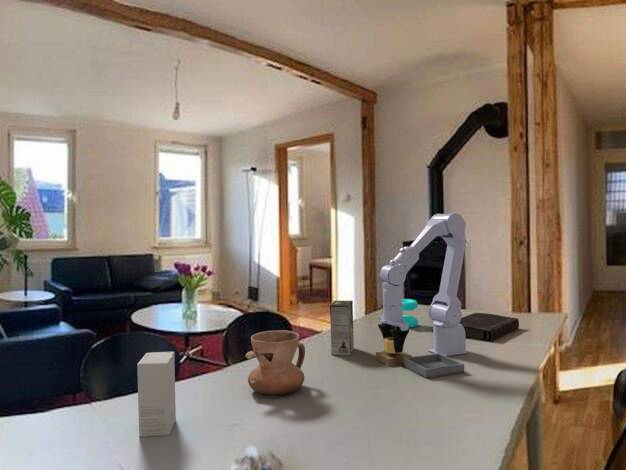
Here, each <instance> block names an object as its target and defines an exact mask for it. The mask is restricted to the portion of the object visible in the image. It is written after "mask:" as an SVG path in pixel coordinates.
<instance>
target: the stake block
mask: <svg viewBox="0 0 626 470" xmlns="http://www.w3.org/2000/svg"><path fill="white" fill-rule="evenodd" d="M390 341H393V339H390ZM407 357H413V355H412V354H409V353H407V352H404V351H403V352H402V353H387V352H385V351H384V350H383V351H376V352H375V359H376V360H377V361H379V362H380V363H382V364H384V365H386V366H388V367H391V366H399V365H403V358H407Z"/></svg>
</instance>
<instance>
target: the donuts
mask: <svg viewBox="0 0 626 470" xmlns="http://www.w3.org/2000/svg"><path fill="white" fill-rule="evenodd" d="M418 306H419V304H418V301H417V300H415V299H412V298H411V299H410V298H402V312H408V311H409V312H410V311H414V310H416V309H417V308H418ZM403 320H404V321H405V322H406V323H408V329H410V328H415V327H417V326H418V325H419V319H417V318H416V317H415V316H412V315H404V314H403Z"/></svg>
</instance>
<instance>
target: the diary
mask: <svg viewBox="0 0 626 470" xmlns="http://www.w3.org/2000/svg"><path fill="white" fill-rule="evenodd" d="M459 324H461V325H462V326H463V327H464V329H465V338H466V340H467V339H468V340H469V339H472V340H473V339H474V340H480V341H484V342H486V341H489V343H492V342H494V341H496V340H498V339H499V338H503V337H504V336H506V335H508V334H511V333H512V332H514V331H517V330H519V328H520V322H519V317H510V316H504V315H499V314H493V313H488V312H487V313H486V312H474V313H471V314H468V315H466V316H462V318H461V321H460V322H459Z"/></svg>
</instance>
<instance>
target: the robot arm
mask: <svg viewBox="0 0 626 470" xmlns="http://www.w3.org/2000/svg"><path fill="white" fill-rule="evenodd" d="M466 226H467V222H466V221H465V219H464V218H463V217H462V215H461V214H460V213H457V212H454V213H435V214H433V216H431V218H430V219H429V220H428V221H427V223H426V226H425V227H424V228H423V229H422V231H421V232H420V233H419V235H418V236H417V237H416V238H415V239H414V240H413V242H412V243H411V245H409V246H404V247H401V248H400V249H399V250H398V254H397V255H396V256H395V257H394V258H393V259H391V260H390V261H389V264H387V265H386V264H385V265H384V266H382V267H381V269H380V271H379V273H378V278H379V281H381V285H382V286H381V287H382V305H383V307H382V311H383V313H382V314H380V315H378V317H379V318H378V320H379V322H380V323H379V324H377V328H378V329H379V331H380V333H381V336H382V339H383V340H384V339H385V338H388V337H392V338H393V342H394V350H395V352H396V353H397V352H402V350H404V345H405V341H406V338H407V336H408V334H409V333H410V328H408V323H406V322H405V321H404V320H403V315H404V314H403V311H402V299H403V283H404V282H405V281H406V279H407V274H408V272H409V271H410V270H411V269H412V268H413V267H414V265H416V263H417V262H418V261H419V259H420V255H419V254H420V253H421V252H422V251H423V250H424V249H425V248H426V247H427V246H428V245H429V244H430V243H431V242H433V240H434V239H435V238H436V237H440V238H442V239H443V241H444V242H445V243H446V246H447V247H446V250H445V258H444V263H443V268H442V272H441V279H440V285H439V290H438V293H436V294H435V295H434V297H433V298H432V302H431V303H430V305H429V306H428V316H429V318H430V320H432V321H431V322H432V325H433V330H432V331H433V348H428V350H427V351H428V352H431V353H432V354H436V353H440V354H442V355H444V356H447V357H450V356H456V355H464V354H468V351H467V350H466V349H467V347H466V345H467V343H466V340H467V338H465V329H464V327H463V326H462V325H461V324H459V322H460V321H461V318H462V317H463V314H462V302H461V301H460V298H458V290H459V286H460V285H459V284H460V279H461V274H462V268H463V267H462V266H463V262H464V256H465V251H466V250H465V249H466V245H467V237H466V232H465V231H466Z"/></svg>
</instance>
